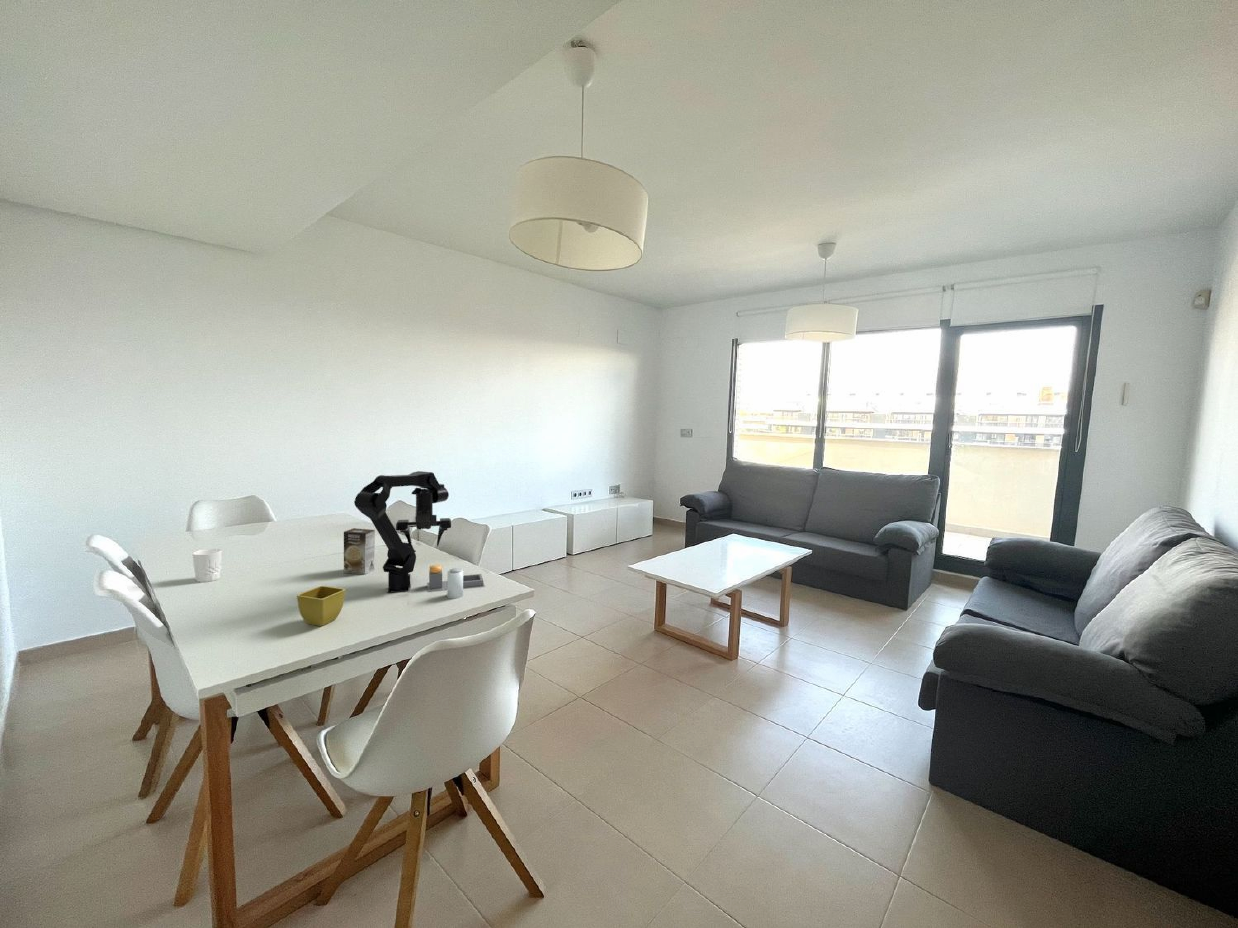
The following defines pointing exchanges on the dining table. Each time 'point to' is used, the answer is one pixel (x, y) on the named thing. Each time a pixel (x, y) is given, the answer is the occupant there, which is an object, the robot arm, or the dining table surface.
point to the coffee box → (359, 551)
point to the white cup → (207, 564)
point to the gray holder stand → (440, 585)
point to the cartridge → (455, 583)
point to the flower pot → (321, 604)
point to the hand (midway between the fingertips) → (424, 546)
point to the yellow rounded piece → (435, 569)
